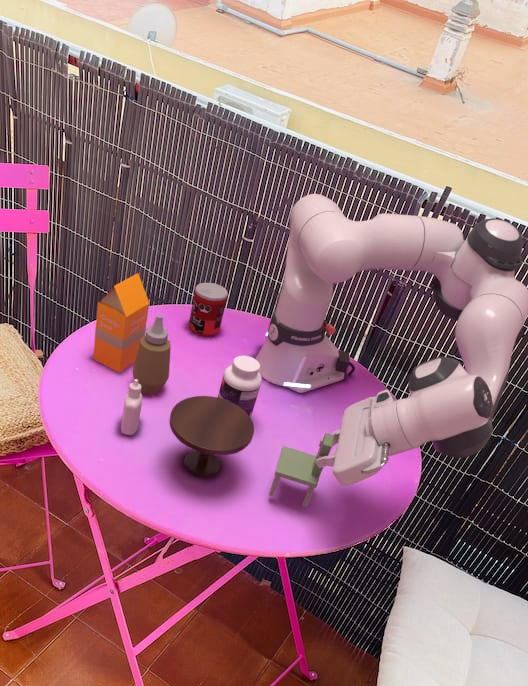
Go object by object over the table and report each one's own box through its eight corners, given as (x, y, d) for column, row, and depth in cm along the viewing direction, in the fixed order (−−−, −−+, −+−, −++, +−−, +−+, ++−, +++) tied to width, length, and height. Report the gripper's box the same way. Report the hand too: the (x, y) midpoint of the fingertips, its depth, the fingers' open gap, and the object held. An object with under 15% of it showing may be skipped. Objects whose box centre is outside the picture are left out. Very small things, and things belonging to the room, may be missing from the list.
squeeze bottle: (168, 380, 155) (180, 310, 143) (164, 401, 149) (177, 330, 137) (133, 373, 155) (142, 303, 142) (128, 394, 149) (137, 323, 136)
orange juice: (92, 358, 157) (99, 279, 143) (115, 343, 162) (124, 265, 149) (119, 373, 154) (129, 293, 140) (142, 357, 160) (153, 279, 146)
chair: (313, 482, 135) (335, 428, 126) (307, 508, 130) (330, 454, 120) (274, 469, 136) (293, 415, 127) (267, 495, 131) (286, 440, 121)
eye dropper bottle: (112, 428, 140) (118, 380, 132) (130, 416, 144) (137, 369, 135) (128, 438, 138) (135, 391, 130) (146, 426, 142) (153, 379, 134)
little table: (248, 453, 141) (261, 410, 133) (231, 504, 129) (244, 460, 122) (175, 430, 143) (183, 386, 135) (151, 478, 131) (159, 434, 123)
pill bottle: (207, 408, 150) (220, 353, 140) (240, 404, 152) (255, 350, 142) (222, 432, 144) (236, 376, 134) (255, 427, 147) (272, 372, 137)
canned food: (183, 322, 174) (190, 282, 166) (212, 320, 177) (220, 281, 169) (194, 338, 169) (202, 299, 162) (223, 336, 172) (232, 297, 164)
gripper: (395, 480, 112) (319, 503, 119) (401, 410, 126) (333, 434, 134) (378, 452, 109) (302, 477, 117) (386, 384, 124) (318, 410, 132)
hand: (319, 454), depth 126 cm, fingers closed on chair, 3 cm apart
